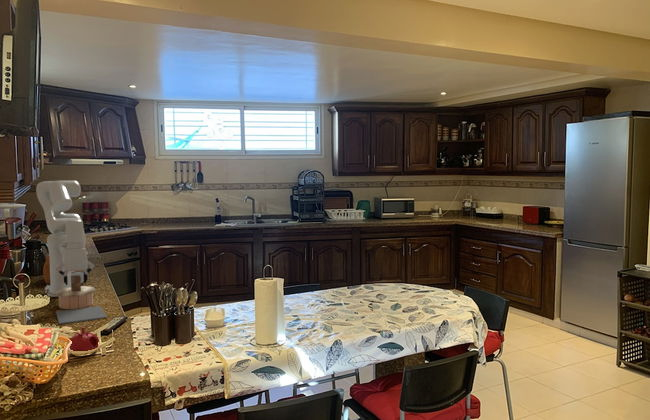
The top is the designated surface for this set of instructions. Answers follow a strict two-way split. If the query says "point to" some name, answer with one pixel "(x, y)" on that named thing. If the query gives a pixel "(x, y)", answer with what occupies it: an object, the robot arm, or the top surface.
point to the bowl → (75, 301)
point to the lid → (75, 288)
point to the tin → (80, 274)
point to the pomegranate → (84, 341)
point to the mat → (80, 315)
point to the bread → (47, 270)
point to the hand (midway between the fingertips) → (75, 283)
